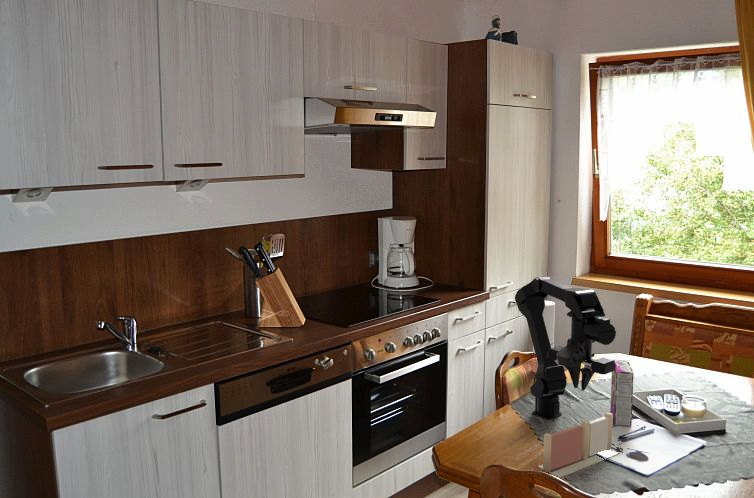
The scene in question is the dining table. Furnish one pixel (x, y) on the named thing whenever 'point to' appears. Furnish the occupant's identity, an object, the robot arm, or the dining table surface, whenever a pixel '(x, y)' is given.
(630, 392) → the candy bar box
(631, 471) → the dining table surface
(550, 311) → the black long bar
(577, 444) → the panel
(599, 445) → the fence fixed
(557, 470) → the card
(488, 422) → the dining table surface
